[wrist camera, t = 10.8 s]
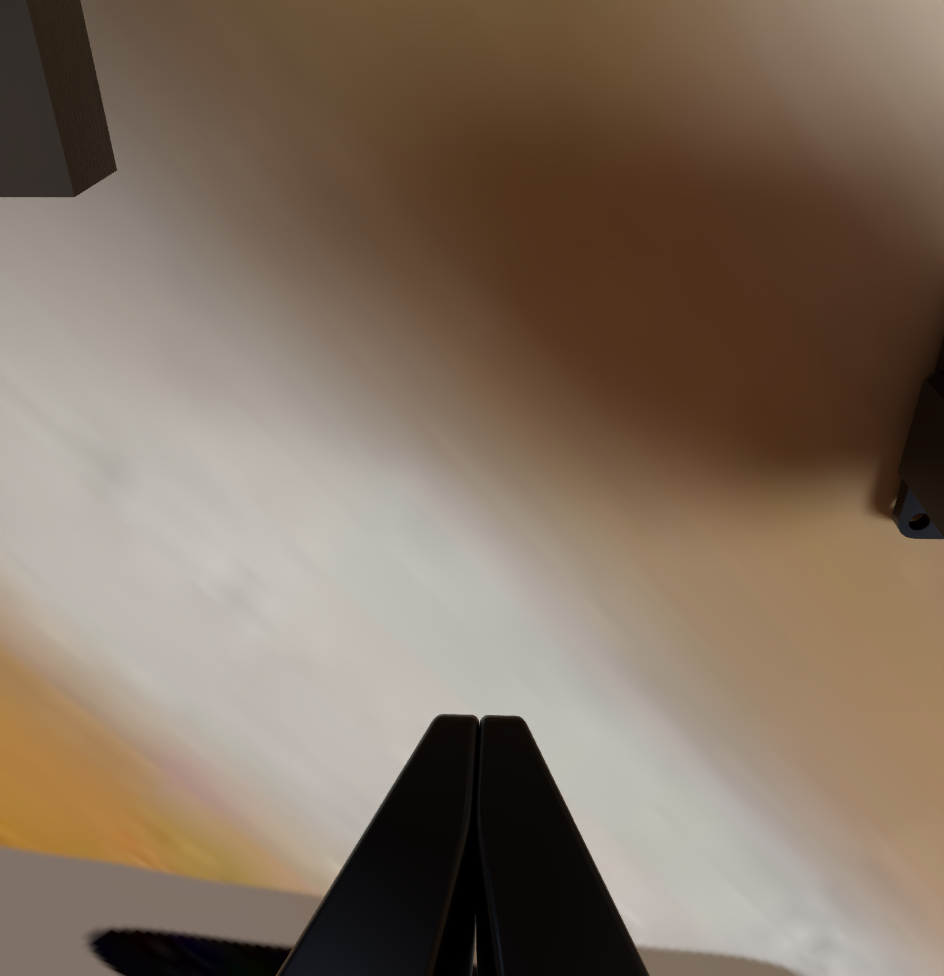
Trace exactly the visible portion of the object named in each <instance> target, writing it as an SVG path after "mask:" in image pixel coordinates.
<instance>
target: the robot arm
mask: <svg viewBox="0 0 944 976" xmlns="http://www.w3.org/2000/svg"><path fill="white" fill-rule="evenodd" d="M898 472H899V474H900V476H901V477H902V479H903V480H902V483H901V487H900V490H899V493H898V497H897V500H896V504H895V507H894V510H893V521H894V522H895V524H896V526H897V528H898V529H899V531H900V532H901V534H903V535H904V536H906V537H908V538H914V539H944V340H943V343H942V347H941V350H940V353H939V357H938V360H937V364H936V367H935V371H933V372H932V373H931V374H930V375H929V376H928V377H927V378H926V379H925V380H924V382H923V385H922V388H921V392H920V395H919V399H918V402H917V406H916V409H915V413H914V416H913V420H912V423H911V427H910V430H909V434H908V437H907V441H906V444H905V448H904V451H903V454H902V458H901V461H900V465H899V469H898ZM920 513H924V514H923V515H922V517H921V518H919V519H918V520H916V521H910V519H911V517H913V516H915V515H916V514H920ZM475 931H476V932H475ZM475 933H476V950H477V969H478V976H650V975H649V973H648V971H647V969H646V967H645V965H644V963H643V961H642V959H641V957H640V955H639V953H638V951H637V948H636V946H635V944H634V942H633V940H632V938H631V936H630V934H629V932H628V930H627V928H626V926H625V924H624V922H623V920H622V918H621V916H620V914H619V912H618V910H617V908H616V906H615V903H614V901H613V899H612V897H611V895H610V893H609V891H608V889H607V887H606V885H605V883H604V881H603V879H602V877H601V875H600V873H599V871H598V869H597V867H596V865H595V863H594V861H593V858H592V856H591V854H590V852H589V850H588V848H587V846H586V844H585V842H584V840H583V838H582V836H581V834H580V832H579V830H578V828H577V826H576V824H575V822H574V820H573V818H572V816H571V813H570V811H569V809H568V807H567V805H566V803H565V801H564V799H563V797H562V795H561V793H560V791H559V789H558V787H557V785H556V783H555V781H554V779H553V777H552V775H551V773H550V770H549V768H548V766H547V764H546V762H545V760H544V758H543V756H542V754H541V752H540V750H539V748H538V746H537V744H536V742H535V740H534V738H533V736H532V734H531V732H530V730H529V728H528V725H527V724H526V722H525V721H524V720H523V718H521V717H519V716H502V715H486V716H484V717H482V719H481V720H480V726H479V720H478V718H477V717H476V716H474V715H458V714H441V715H438V716H437V717H436V718H435V719H434V720H433V721H432V722H431V724H430V726H429V727H428V729H427V730H426V732H425V734H424V735H423V737H422V739H421V740H420V742H419V744H418V745H417V747H416V748H415V750H414V752H413V753H412V755H411V757H410V758H409V760H408V761H407V763H406V765H405V766H404V768H403V770H402V771H401V773H400V774H399V776H398V778H397V779H396V781H395V783H394V784H393V786H392V788H391V789H390V791H389V792H388V794H387V796H386V797H385V799H384V801H383V802H382V804H381V805H380V807H379V809H378V810H377V812H376V814H375V815H374V817H373V819H372V820H371V822H370V823H369V825H368V827H367V828H366V830H365V832H364V833H363V835H362V836H361V838H360V840H359V841H358V843H357V845H356V846H355V848H354V849H353V851H352V853H351V854H350V856H349V858H348V859H347V861H346V863H345V864H344V866H343V867H342V869H341V871H340V872H339V874H338V876H337V877H336V879H335V880H334V882H333V884H332V885H331V887H330V889H329V890H328V892H327V893H326V895H325V897H324V898H323V900H322V902H321V903H320V905H319V907H318V908H317V910H316V911H315V913H314V915H313V916H312V918H311V920H310V921H309V923H308V925H307V926H306V928H305V929H304V931H303V933H302V934H301V936H300V938H299V939H298V941H297V942H296V944H295V946H294V947H293V949H292V951H291V952H290V954H289V955H288V957H287V959H286V960H285V962H284V964H283V965H282V967H281V968H280V970H279V972H278V973H277V975H276V976H472V968H473V959H474V949H475Z"/></svg>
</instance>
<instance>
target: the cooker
mask: <svg viewBox="0 0 944 976" xmlns="http://www.w3.org/2000/svg"><path fill="white" fill-rule="evenodd" d="M115 171H117V168H116V163H115V159H114V154H113V150H112V145H111V140H110V136H109V131H108V126H107V122H106V117H105V113H104V108H103V103H102V99H101V94H100V90H99V85H98V80H97V76H96V71H95V66H94V62H93V57H92V53H91V48H90V43H89V39H88V34H87V30H86V25H85V20H84V16H83V11H82V7H81V2H80V0H0V197H75V196H77V195H79V194H80V193H82V192H83V191H85V190H86V189H88V188H90V187H91V186H93V185H94V184H96V183H98V182H99V181H101V180H102V179H104V178H106V177H107V176H109V175H110V174H112V173H114V172H115Z"/></svg>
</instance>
